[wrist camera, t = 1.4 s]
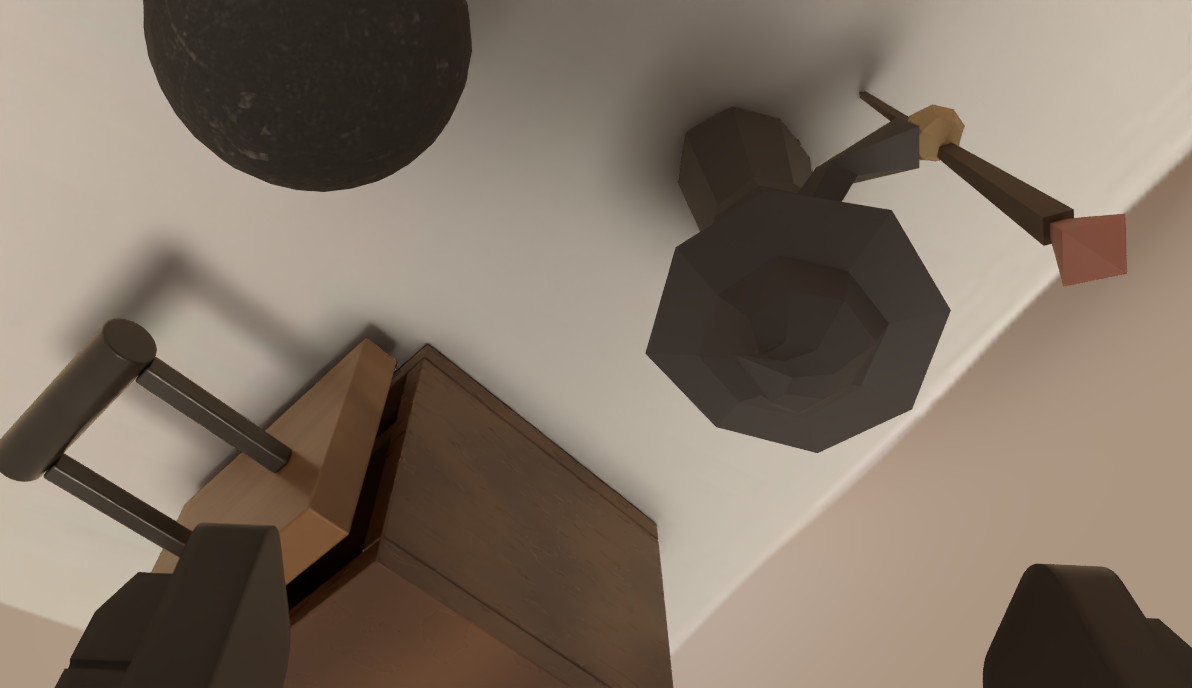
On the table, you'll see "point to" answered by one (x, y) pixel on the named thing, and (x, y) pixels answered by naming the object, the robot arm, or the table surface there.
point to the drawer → (253, 479)
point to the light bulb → (311, 82)
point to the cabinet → (485, 561)
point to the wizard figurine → (826, 274)
